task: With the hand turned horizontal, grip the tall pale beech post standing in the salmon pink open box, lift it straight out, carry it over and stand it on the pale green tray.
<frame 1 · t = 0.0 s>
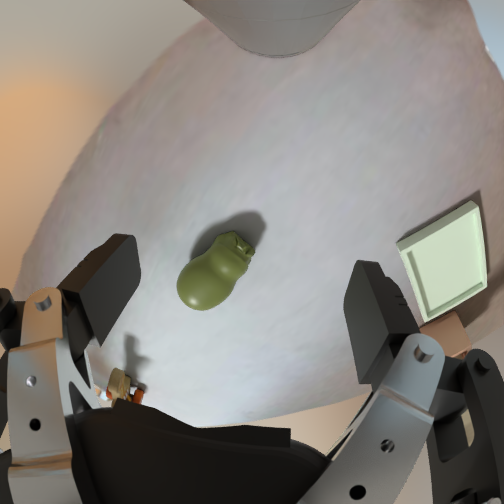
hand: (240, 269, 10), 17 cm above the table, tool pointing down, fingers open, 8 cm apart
tray: (446, 264, 28), on the table
pear: (219, 258, 32), on the table
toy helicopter: (127, 375, 52), on the table
salmon pink open box: (437, 332, 36), on the table
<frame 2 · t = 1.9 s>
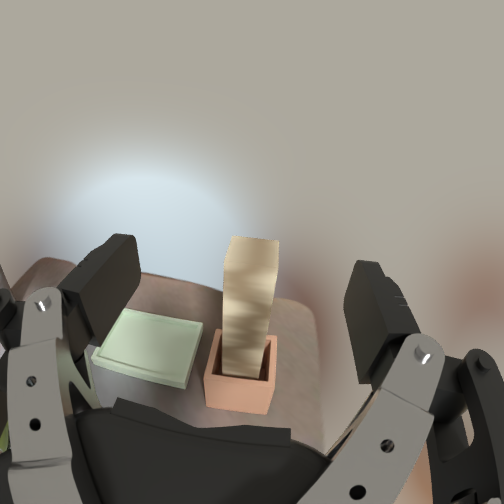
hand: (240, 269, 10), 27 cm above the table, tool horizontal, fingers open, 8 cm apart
tray: (149, 348, 37), on the table
pear: (5, 434, 18), on the table
post: (240, 384, 33), point 1 cm above the table, touching salmon pink open box
salmon pink open box: (239, 387, 33), on the table
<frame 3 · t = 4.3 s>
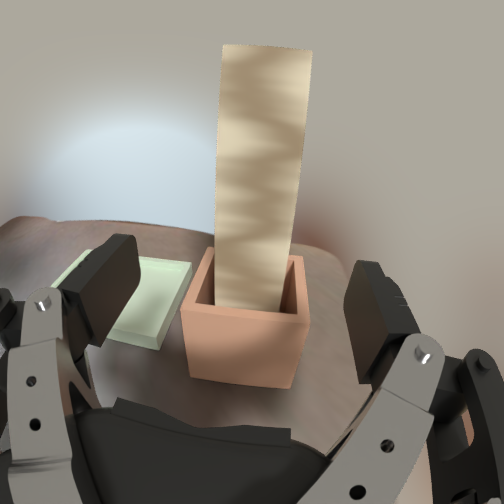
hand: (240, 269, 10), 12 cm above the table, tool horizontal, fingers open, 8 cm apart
tray: (114, 296, 26), on the table
post: (245, 341, 22), point 1 cm above the table, touching salmon pink open box
salmon pink open box: (244, 347, 22), on the table
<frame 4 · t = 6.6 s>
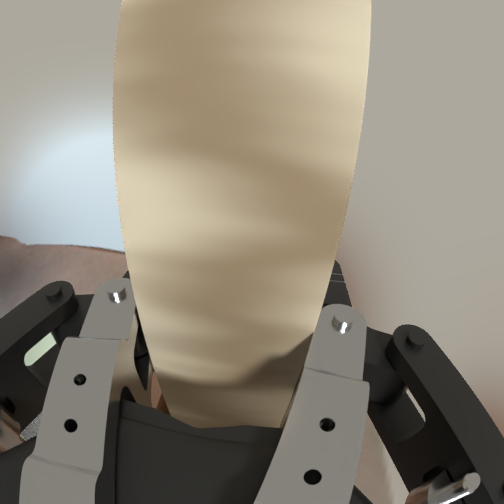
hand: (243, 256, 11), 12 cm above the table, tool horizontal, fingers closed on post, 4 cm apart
tray: (73, 359, 18), on the table
post: (229, 441, 14), point 1 cm above the table, touching salmon pink open box, gripper
salmon pink open box: (229, 445, 15), on the table
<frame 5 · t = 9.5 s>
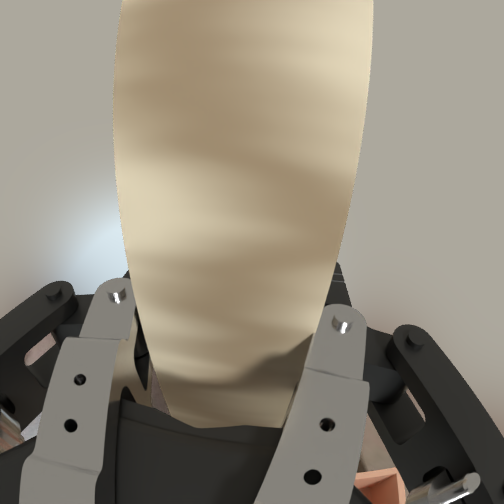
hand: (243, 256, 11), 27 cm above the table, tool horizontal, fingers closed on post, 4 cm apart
post: (229, 441, 14), point 15 cm above the table, touching gripper
when the fingers open (13 cm above the table, at t = 12.6 s): post stays where it is, resting on tray.
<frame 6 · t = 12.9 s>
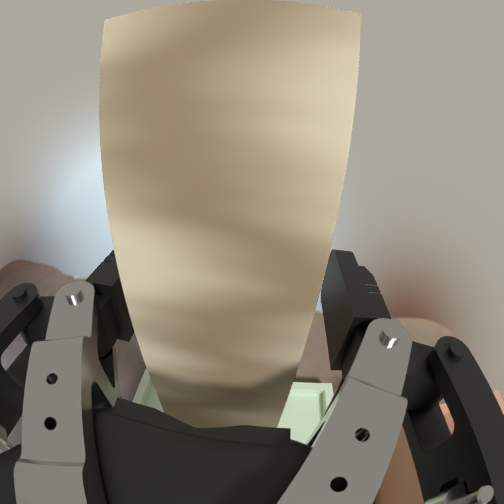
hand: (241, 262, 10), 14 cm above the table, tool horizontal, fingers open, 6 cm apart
tray: (228, 450, 15), on the table
post: (228, 448, 15), point 1 cm above the table, touching tray
salmon pink open box: (418, 485, 11), on the table
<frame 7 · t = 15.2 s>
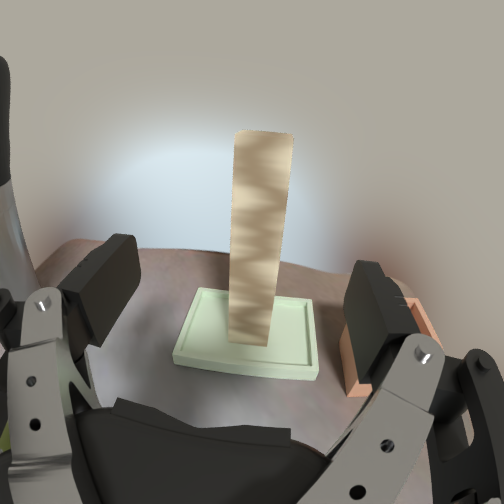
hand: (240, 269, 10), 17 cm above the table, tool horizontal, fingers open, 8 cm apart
tray: (249, 335, 30), on the table
post: (249, 331, 29), point 1 cm above the table, touching tray
salmon pink open box: (374, 367, 26), on the table
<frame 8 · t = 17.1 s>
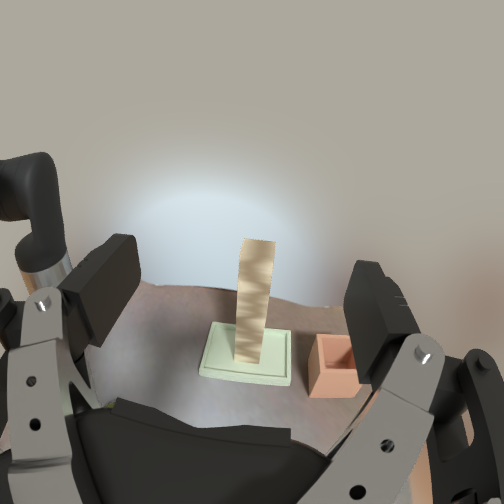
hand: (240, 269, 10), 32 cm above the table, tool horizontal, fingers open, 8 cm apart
tray: (247, 355, 45), on the table
post: (247, 353, 44), point 1 cm above the table, touching tray
salmon pink open box: (330, 379, 41), on the table
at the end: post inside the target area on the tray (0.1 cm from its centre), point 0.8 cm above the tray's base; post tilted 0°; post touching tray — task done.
